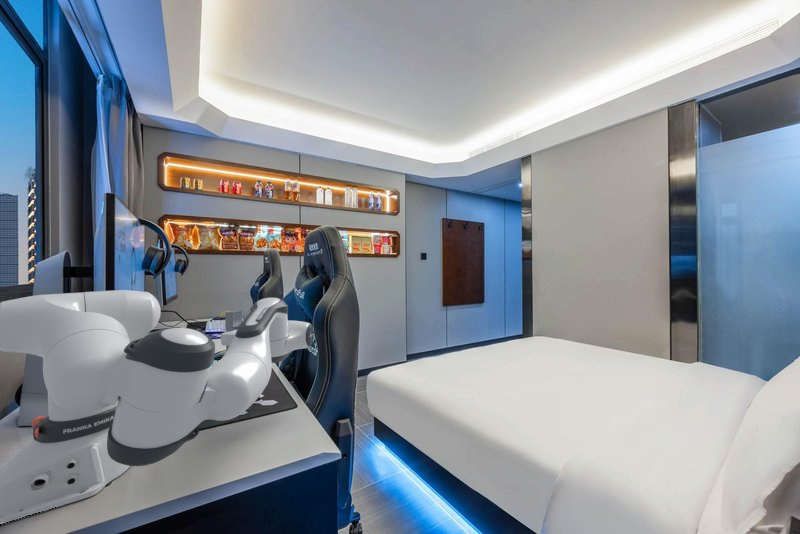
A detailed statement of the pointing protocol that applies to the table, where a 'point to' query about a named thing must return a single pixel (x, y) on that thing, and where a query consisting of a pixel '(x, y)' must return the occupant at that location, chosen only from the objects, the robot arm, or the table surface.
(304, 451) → the table surface
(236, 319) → the grey upright cuboid
